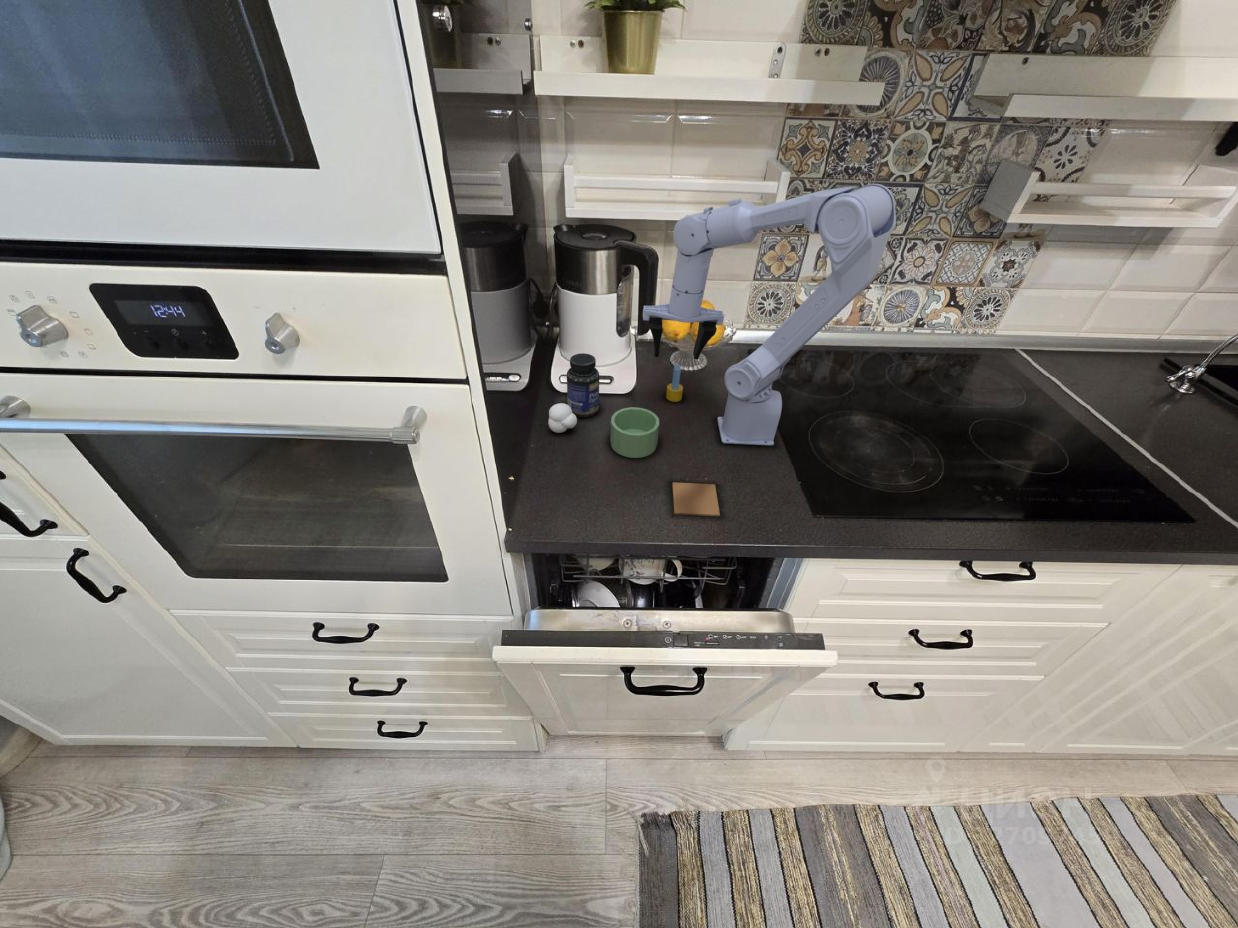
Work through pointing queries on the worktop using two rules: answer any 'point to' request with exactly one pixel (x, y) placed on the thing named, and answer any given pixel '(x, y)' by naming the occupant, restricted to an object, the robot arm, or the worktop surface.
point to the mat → (695, 499)
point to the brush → (675, 386)
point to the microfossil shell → (561, 418)
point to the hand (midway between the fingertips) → (675, 355)
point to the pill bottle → (583, 385)
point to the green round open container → (634, 432)
